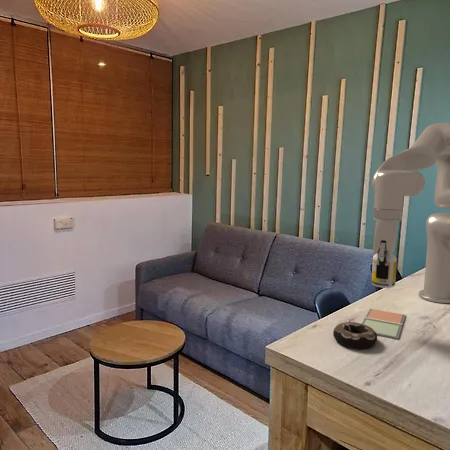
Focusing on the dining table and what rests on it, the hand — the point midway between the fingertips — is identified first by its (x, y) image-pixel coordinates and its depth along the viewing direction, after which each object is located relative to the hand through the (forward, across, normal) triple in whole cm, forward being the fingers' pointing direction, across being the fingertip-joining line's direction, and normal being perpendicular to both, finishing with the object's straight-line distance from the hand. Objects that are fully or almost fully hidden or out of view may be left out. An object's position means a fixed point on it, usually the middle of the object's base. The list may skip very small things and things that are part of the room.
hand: (383, 274), depth 115 cm
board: (+17, -5, 0) cm, 18 cm away
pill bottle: (+3, 0, 0) cm, 3 cm away
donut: (+17, +12, -5) cm, 22 cm away
